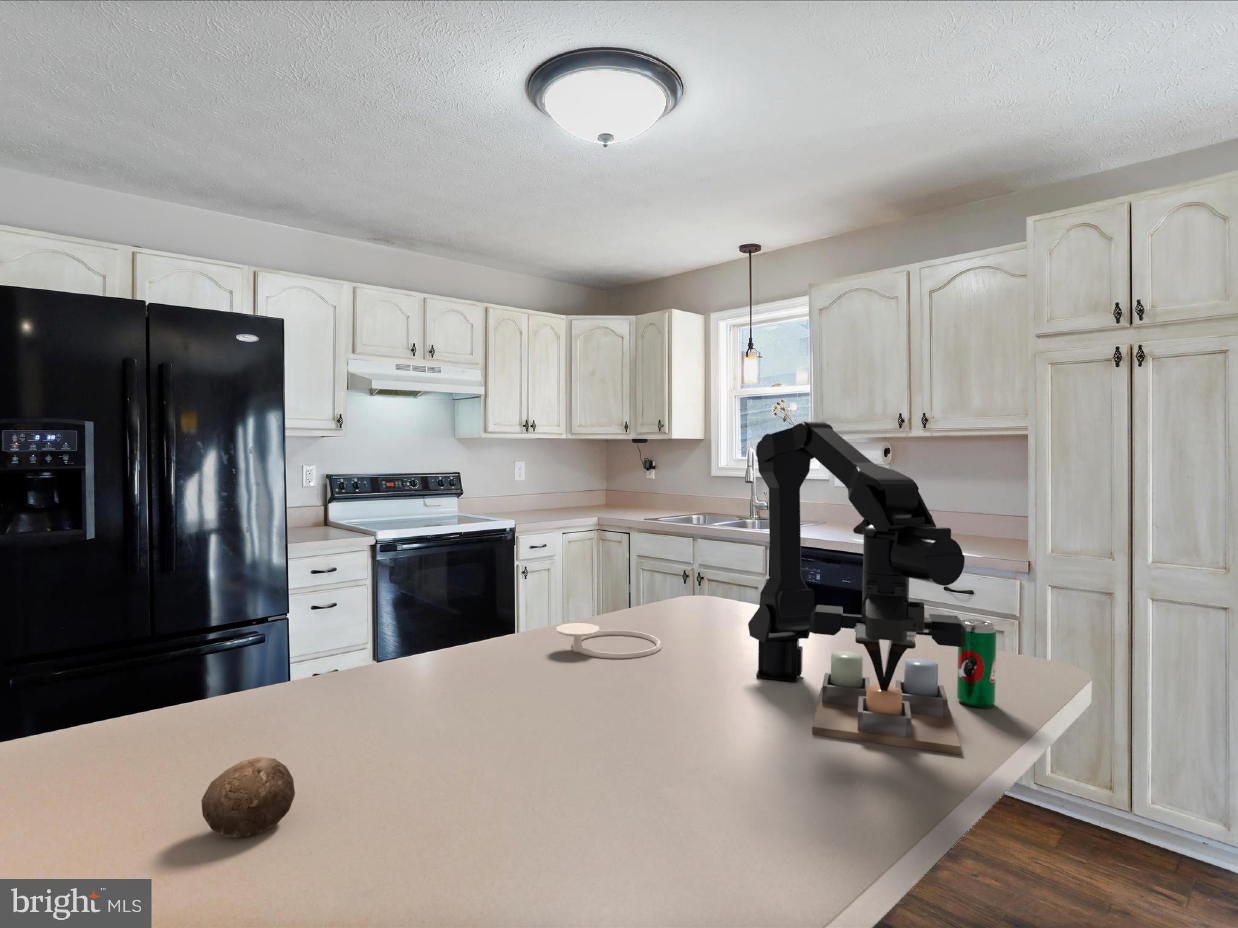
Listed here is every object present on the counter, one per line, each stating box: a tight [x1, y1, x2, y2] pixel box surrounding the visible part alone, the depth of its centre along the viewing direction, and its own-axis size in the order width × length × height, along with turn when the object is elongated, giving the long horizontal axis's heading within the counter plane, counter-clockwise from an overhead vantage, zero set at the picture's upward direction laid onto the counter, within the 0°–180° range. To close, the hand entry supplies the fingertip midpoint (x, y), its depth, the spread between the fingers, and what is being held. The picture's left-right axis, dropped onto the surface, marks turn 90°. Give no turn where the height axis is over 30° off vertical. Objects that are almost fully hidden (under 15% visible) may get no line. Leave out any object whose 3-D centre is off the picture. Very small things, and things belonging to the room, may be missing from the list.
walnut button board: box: [811, 672, 962, 755], centre depth 98 cm, size 18×16×3 cm
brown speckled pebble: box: [200, 756, 296, 839], centre depth 70 cm, size 8×8×6 cm
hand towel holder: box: [556, 622, 663, 660], centre depth 134 cm, size 17×4×20 cm
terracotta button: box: [866, 683, 902, 716], centre depth 94 cm, size 4×4×4 cm
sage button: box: [830, 650, 864, 688], centre depth 104 cm, size 4×4×4 cm
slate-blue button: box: [903, 657, 939, 696], centre depth 101 cm, size 4×4×4 cm
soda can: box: [956, 618, 997, 709], centre depth 105 cm, size 5×5×12 cm
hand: (884, 689), depth 94 cm, fingers closed, pressing on terracotta button
